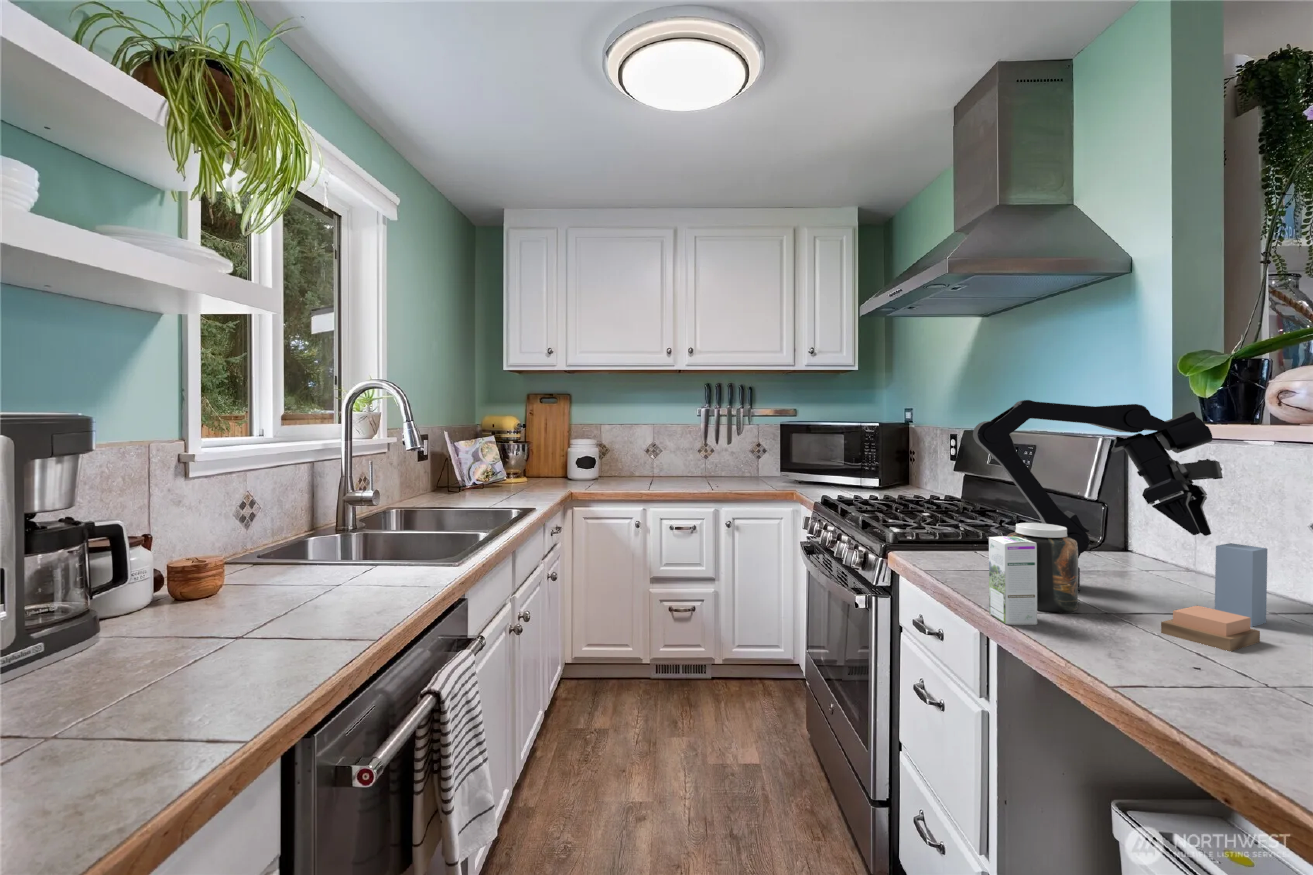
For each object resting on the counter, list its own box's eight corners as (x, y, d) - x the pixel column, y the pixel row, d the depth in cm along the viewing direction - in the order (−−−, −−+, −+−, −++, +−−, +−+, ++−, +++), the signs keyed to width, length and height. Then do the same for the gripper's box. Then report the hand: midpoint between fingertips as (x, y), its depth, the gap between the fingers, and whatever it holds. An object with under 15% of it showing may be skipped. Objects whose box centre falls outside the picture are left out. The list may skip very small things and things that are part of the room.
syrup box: (1038, 625, 105) (1039, 541, 104) (1004, 625, 105) (1004, 542, 105) (1019, 614, 111) (1020, 535, 110) (987, 614, 111) (987, 535, 110)
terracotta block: (1226, 636, 94) (1226, 623, 93) (1172, 622, 100) (1173, 610, 100) (1250, 630, 96) (1250, 617, 96) (1197, 617, 103) (1197, 605, 103)
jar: (1011, 609, 114) (1012, 529, 113) (1000, 592, 125) (1000, 520, 124) (1086, 615, 110) (1086, 533, 109) (1067, 597, 121) (1067, 522, 120)
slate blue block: (1251, 627, 103) (1252, 551, 102) (1214, 618, 107) (1215, 545, 107) (1266, 622, 105) (1267, 548, 104) (1229, 614, 109) (1230, 543, 109)
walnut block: (1230, 655, 92) (1230, 639, 92) (1160, 636, 100) (1161, 621, 100) (1259, 646, 96) (1259, 630, 96) (1190, 628, 104) (1190, 614, 104)
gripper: (1187, 436, 110) (1245, 515, 103) (1210, 446, 121) (1264, 518, 114) (1121, 464, 117) (1171, 540, 110) (1149, 472, 128) (1195, 541, 121)
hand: (1202, 534), depth 114 cm, fingers open, 9 cm apart
